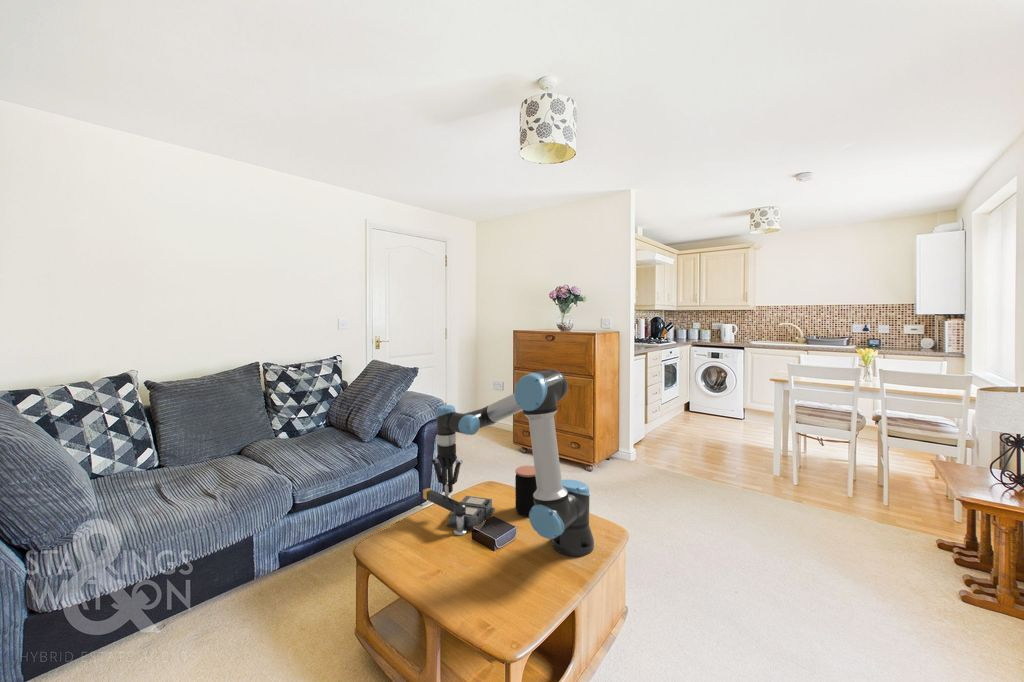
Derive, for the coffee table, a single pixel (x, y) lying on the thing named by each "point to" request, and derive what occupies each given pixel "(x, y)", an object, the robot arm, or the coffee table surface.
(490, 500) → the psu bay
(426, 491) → the swing arm
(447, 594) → the coffee table surface
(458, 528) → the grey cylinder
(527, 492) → the coffee jar
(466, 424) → the robot arm
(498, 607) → the coffee table surface
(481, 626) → the coffee table surface
